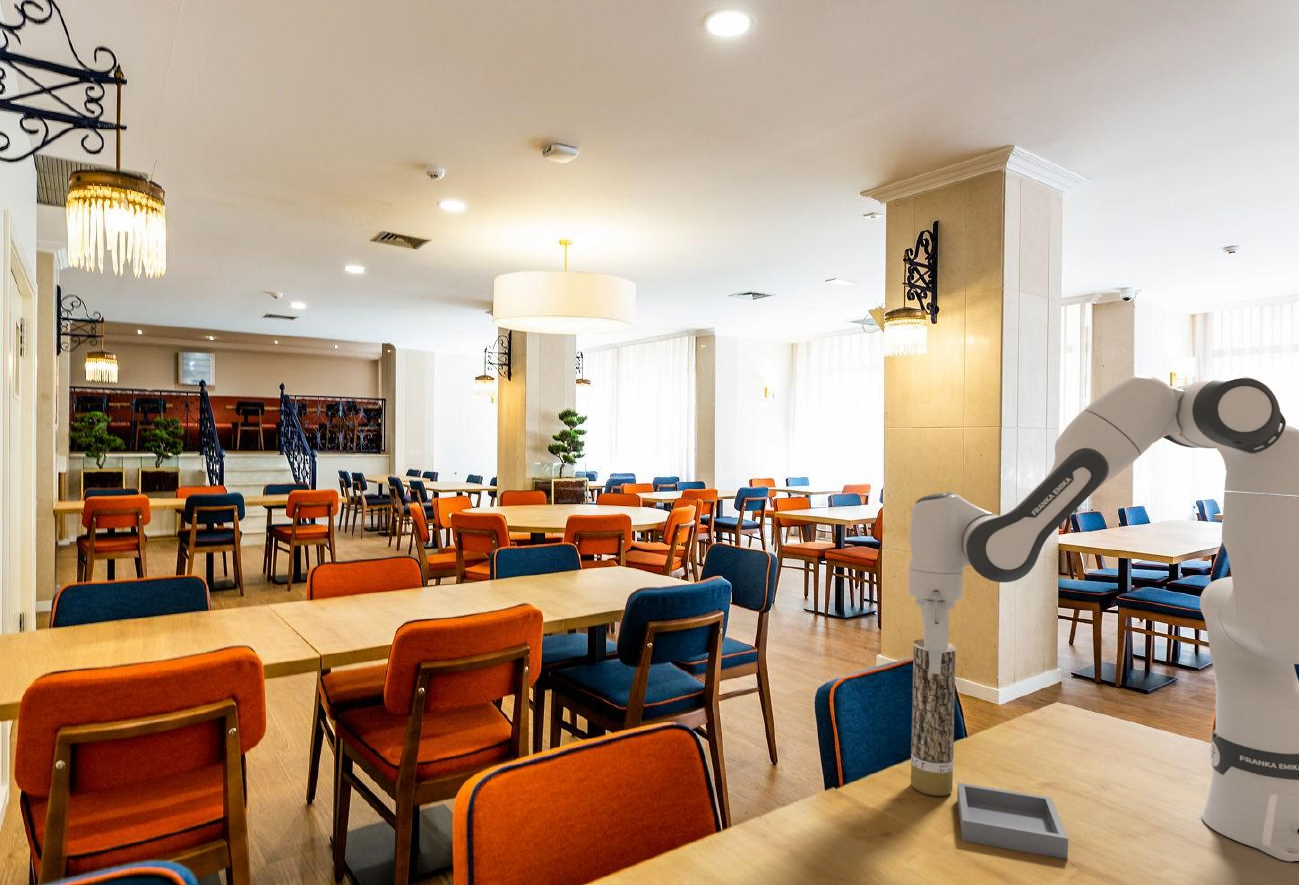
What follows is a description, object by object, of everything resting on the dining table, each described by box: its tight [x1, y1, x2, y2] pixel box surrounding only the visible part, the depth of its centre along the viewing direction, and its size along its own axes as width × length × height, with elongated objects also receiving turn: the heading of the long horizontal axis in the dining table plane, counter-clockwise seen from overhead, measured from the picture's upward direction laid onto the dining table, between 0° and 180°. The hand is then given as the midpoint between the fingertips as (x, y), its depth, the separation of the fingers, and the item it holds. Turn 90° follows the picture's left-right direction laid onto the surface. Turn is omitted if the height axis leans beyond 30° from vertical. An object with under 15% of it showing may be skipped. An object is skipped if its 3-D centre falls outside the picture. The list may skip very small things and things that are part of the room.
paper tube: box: [910, 638, 957, 797], centre depth 130 cm, size 7×7×25 cm
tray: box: [956, 782, 1069, 861], centre depth 117 cm, size 14×14×3 cm
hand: (934, 666), depth 130 cm, fingers closed on paper tube, 7 cm apart
